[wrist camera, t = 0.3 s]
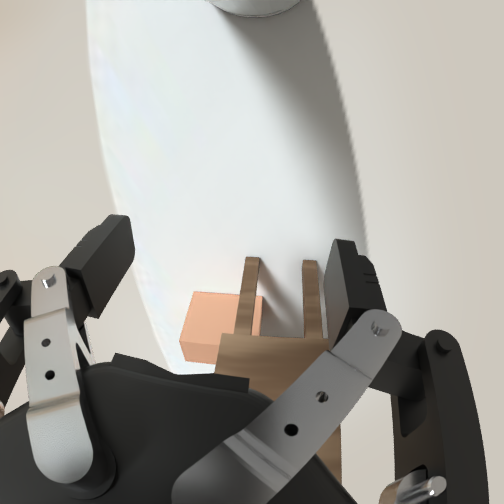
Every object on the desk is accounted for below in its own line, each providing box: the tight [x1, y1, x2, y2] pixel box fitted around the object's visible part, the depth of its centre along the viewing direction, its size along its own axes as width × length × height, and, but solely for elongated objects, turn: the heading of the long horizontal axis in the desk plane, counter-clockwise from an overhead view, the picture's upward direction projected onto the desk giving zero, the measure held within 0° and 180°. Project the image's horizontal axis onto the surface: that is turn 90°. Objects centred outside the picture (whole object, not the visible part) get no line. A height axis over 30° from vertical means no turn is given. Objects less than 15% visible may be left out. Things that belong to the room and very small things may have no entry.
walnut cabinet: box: [214, 257, 342, 485], centre depth 30 cm, size 18×11×28 cm, turn 0°
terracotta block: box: [179, 292, 262, 364], centre depth 38 cm, size 4×9×8 cm, turn 90°
